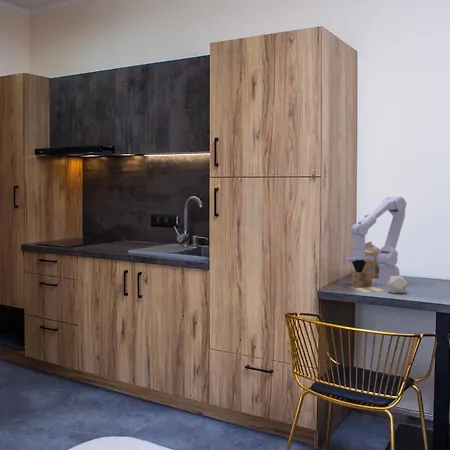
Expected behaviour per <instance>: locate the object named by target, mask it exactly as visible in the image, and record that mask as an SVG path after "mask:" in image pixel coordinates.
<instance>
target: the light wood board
mask: <svg viewBox="0 0 450 450" xmlns="http://www.w3.org/2000/svg"><path fill="white" fill-rule="evenodd" d="M347 288H350V289H354V290H357V291H360V292H364V293H370V292H372V293H373V292H385V291H388V289H384V288H381V287H378V286H373V285H372V287H362V288H354V287H353V285H349V286H347Z"/></svg>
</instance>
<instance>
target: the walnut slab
mask: <svg viewBox="0 0 450 450" xmlns="http://www.w3.org/2000/svg"><path fill="white" fill-rule="evenodd" d="M352 286H353V287H354V288H362V287H372V286H373V279H372V272H359V273H356V272H352ZM354 288H353V289H354Z"/></svg>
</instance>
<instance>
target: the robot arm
mask: <svg viewBox="0 0 450 450" xmlns="http://www.w3.org/2000/svg"><path fill="white" fill-rule="evenodd" d="M407 205H408V204H407V201H406V200H405V198H404V197H402V196H387V197H385V198H384V199H383V200H382V202H381V204H379V205H378V207H376V209H374V211H373V212H372V213H366V214H364V216H363V218H361V220H359V221H357V222H358V223H353V225H352V226H351V229H350V233H351V235H352V256H347V257H344V262H346V263H349V262H351V264H352V266H353V267H354V271H355V273H359V272H362V270H363V268H364V266H365V264H366V262H365V261H373V257H371V256H365V243H366V235H367V234H368V231H369V229H370V228H372V227H373V226H374V225H375V224H376V222H377V219H378V218H379V217H381V216H382V215H383V214H384V213H386V212H389V214H391V216H392V218H391V222H390V226H389V229H388V232H387V236H386V240H385V242H384V245H383V246H382V247H381V248H379V249H380V251H379V253H378V254H377V256H376V261H377V263H378V265H379V277H378V281H375V284H376V283H377V284H379V285H383V286H387V284H388V281H389V279H390V277H391V276H400V269H399V267H398V266H397V264H398V255H399V252H398V251H397V249H396V247H397V245H398V241H399V238H400V236H401V231H402V228H403V225H404V220H405V218H406V208H407Z"/></svg>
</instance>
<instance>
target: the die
mask: <svg viewBox="0 0 450 450" xmlns="http://www.w3.org/2000/svg"><path fill="white" fill-rule="evenodd" d="M408 284H409V283H408V282H407V281H406V279H405V278H404V277H403V276H402V275H399V276H391V277H390V279H389V281H388V284H387V285H386V287H387V288H388V290H389V291H390V293H391V294H398V293H405V291H406V289H407V286H408Z"/></svg>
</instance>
